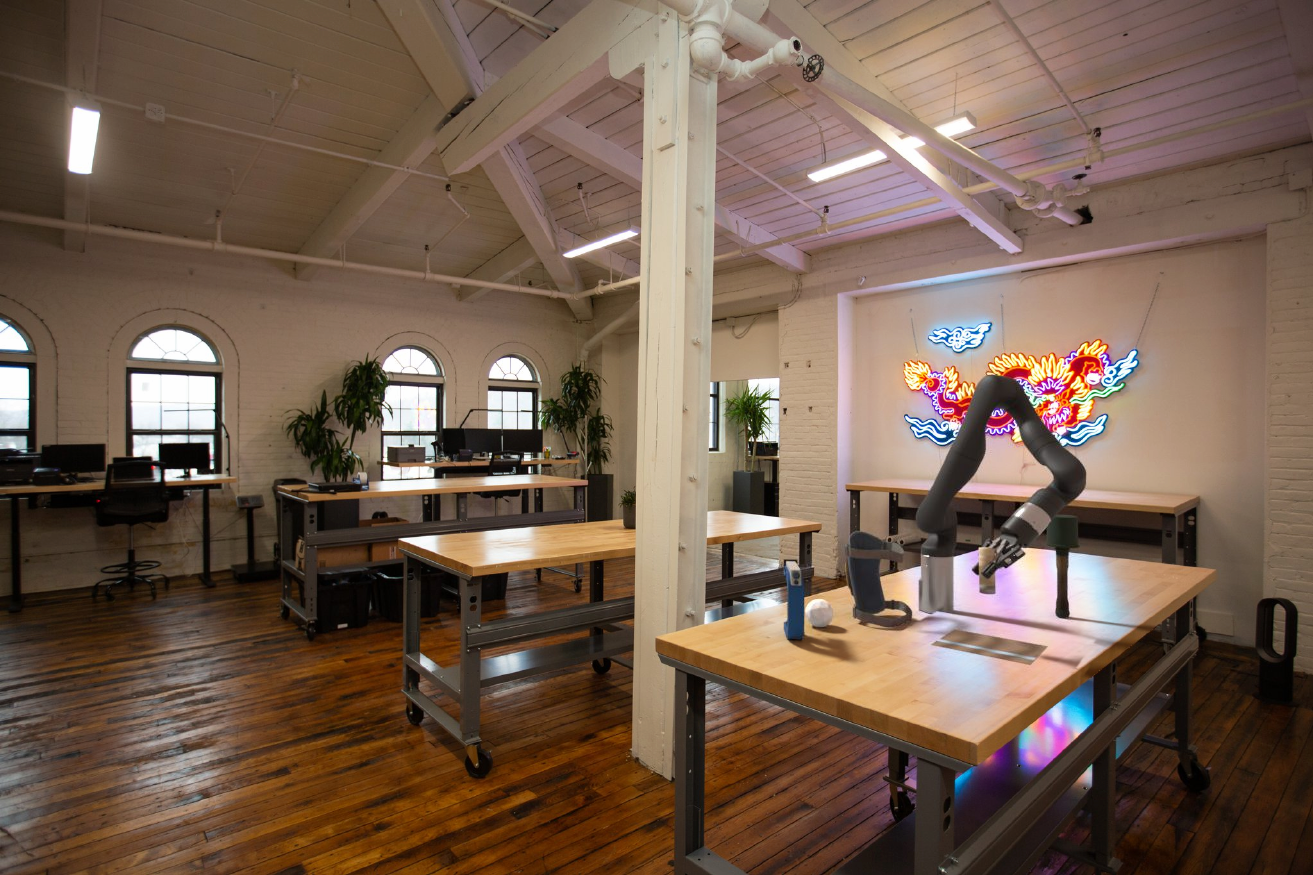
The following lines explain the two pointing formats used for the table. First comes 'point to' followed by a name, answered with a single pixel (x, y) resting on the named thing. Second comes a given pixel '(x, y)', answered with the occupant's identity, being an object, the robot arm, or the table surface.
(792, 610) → the handheld scanner
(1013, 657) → the board
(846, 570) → the knee pad
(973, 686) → the table surface
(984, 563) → the tan round-topped cylinder
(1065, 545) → the potato masher grenade
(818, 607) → the ball
